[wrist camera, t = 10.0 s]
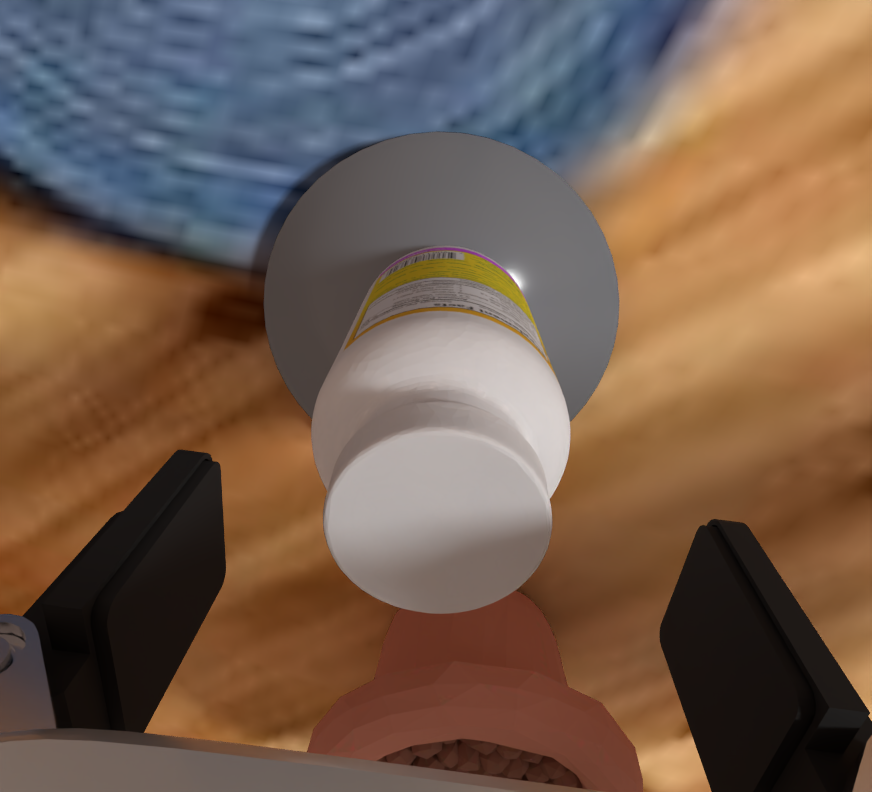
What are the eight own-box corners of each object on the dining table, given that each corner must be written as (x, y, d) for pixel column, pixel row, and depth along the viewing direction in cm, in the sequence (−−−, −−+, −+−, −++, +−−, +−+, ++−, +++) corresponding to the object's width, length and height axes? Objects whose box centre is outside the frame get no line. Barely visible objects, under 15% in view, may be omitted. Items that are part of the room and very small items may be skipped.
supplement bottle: (469, 427, 25) (479, 691, 14) (333, 349, 24) (218, 570, 13) (564, 299, 23) (674, 492, 11) (418, 204, 22) (372, 313, 10)
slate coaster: (656, 157, 21) (662, 158, 21) (572, 480, 27) (576, 490, 27) (267, 108, 21) (261, 107, 20) (270, 445, 27) (265, 454, 26)
